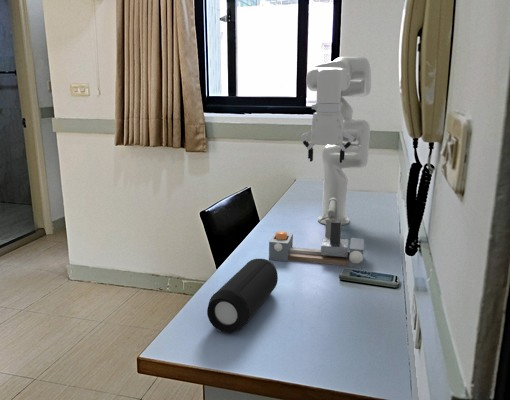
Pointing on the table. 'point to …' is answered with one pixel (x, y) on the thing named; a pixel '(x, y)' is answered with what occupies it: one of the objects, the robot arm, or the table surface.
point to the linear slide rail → (282, 247)
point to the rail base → (316, 256)
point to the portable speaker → (242, 295)
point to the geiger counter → (330, 216)
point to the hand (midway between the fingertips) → (325, 161)
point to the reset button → (281, 235)
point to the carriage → (335, 242)
